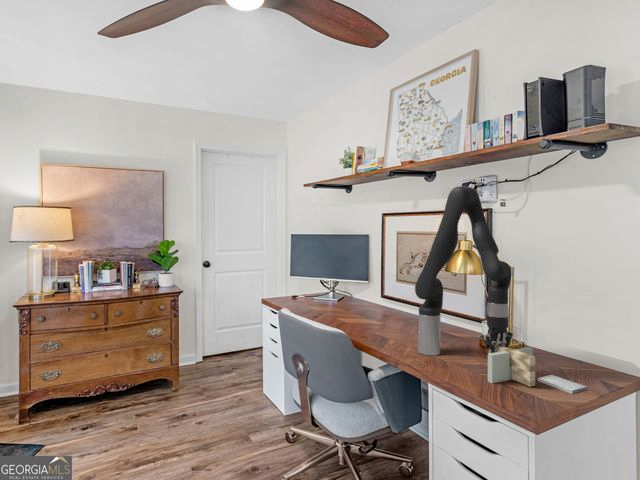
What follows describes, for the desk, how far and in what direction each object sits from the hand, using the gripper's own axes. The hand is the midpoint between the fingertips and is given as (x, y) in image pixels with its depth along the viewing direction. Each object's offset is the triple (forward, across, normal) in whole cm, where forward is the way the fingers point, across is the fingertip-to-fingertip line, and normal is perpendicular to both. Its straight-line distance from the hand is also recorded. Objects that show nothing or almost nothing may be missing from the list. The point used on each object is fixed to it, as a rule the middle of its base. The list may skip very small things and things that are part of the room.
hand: (497, 359), depth 148 cm
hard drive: (+6, -11, +18) cm, 22 cm away
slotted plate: (+5, 0, +6) cm, 8 cm away
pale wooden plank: (+5, 0, +6) cm, 8 cm away
